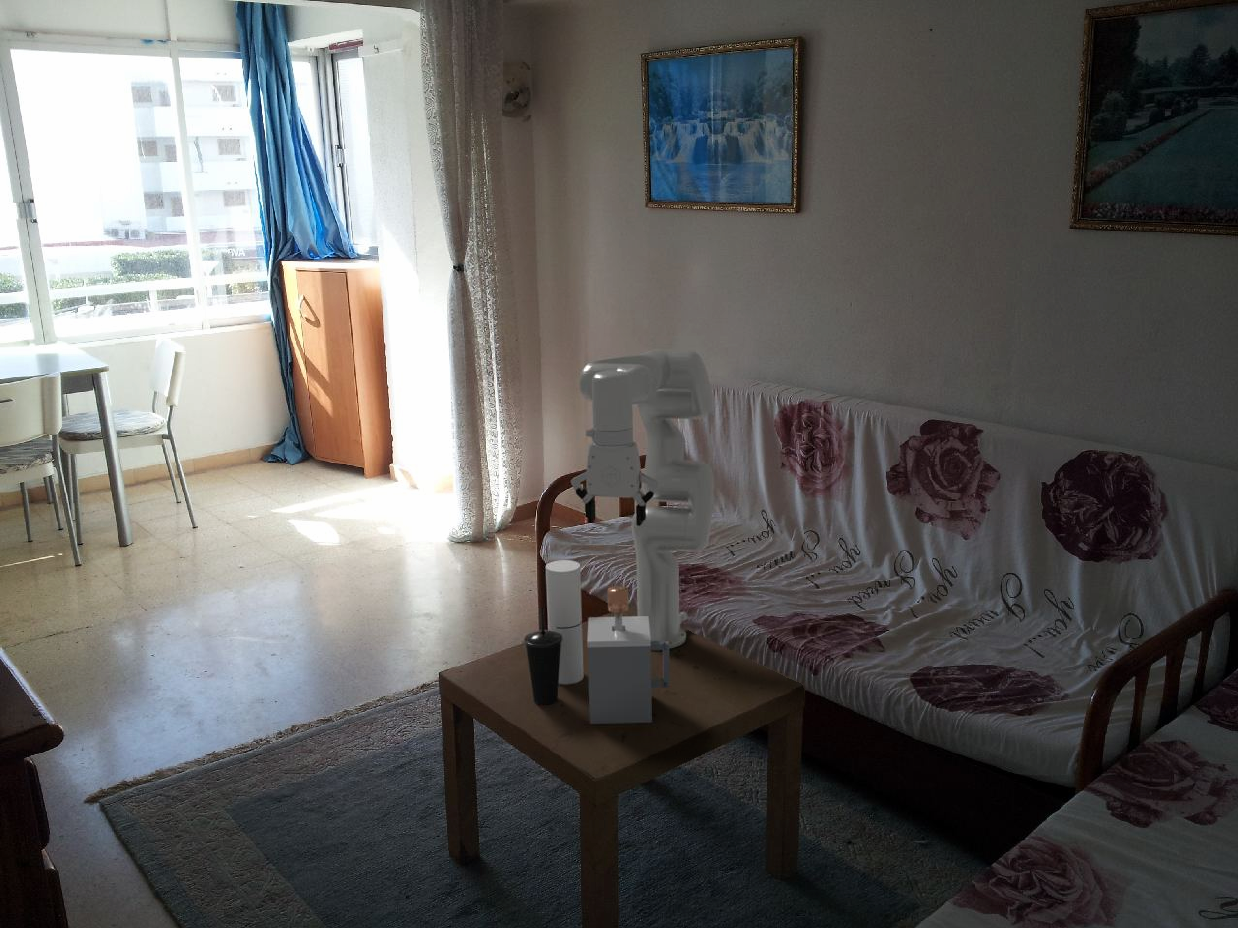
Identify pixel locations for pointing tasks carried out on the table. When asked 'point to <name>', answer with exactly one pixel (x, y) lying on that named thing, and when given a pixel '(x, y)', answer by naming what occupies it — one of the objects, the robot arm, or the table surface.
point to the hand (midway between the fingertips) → (615, 522)
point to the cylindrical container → (566, 616)
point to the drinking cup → (544, 663)
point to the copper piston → (618, 603)
